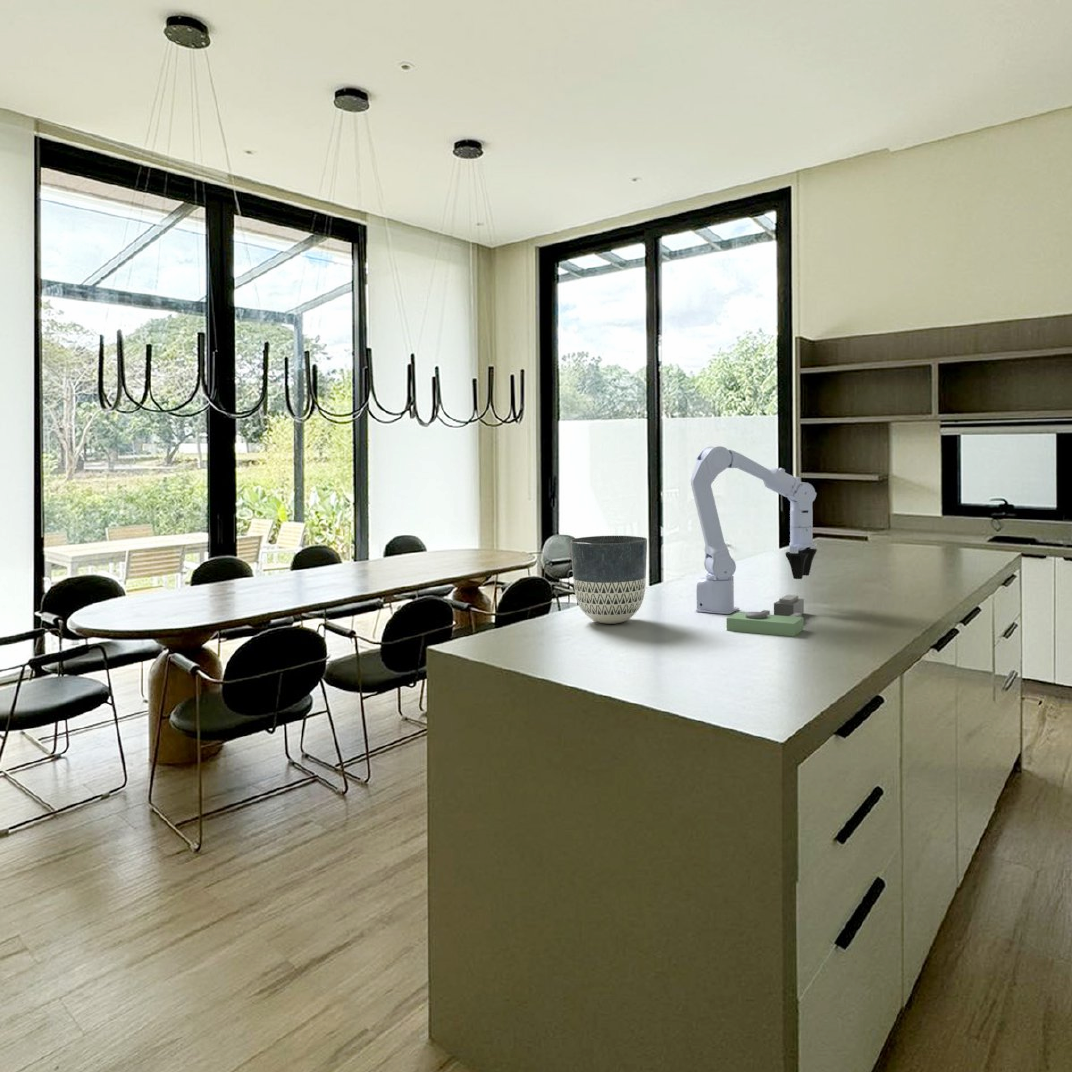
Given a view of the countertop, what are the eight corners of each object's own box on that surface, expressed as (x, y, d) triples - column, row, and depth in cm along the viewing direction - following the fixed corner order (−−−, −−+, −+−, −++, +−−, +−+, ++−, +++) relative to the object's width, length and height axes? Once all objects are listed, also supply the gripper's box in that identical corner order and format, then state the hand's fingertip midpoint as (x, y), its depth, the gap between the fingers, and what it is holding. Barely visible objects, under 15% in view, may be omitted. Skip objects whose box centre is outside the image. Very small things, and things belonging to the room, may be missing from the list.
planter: (572, 615, 223) (569, 536, 221) (644, 613, 222) (643, 534, 220) (573, 631, 204) (570, 544, 201) (652, 629, 203) (650, 542, 201)
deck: (726, 630, 199) (726, 614, 199) (751, 616, 214) (751, 602, 214) (793, 636, 190) (793, 620, 190) (814, 622, 205) (814, 606, 205)
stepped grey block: (773, 618, 212) (773, 599, 211) (784, 612, 219) (784, 593, 219) (793, 620, 209) (793, 600, 209) (803, 614, 216) (803, 595, 216)
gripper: (809, 529, 213) (809, 581, 215) (823, 524, 225) (823, 574, 227) (781, 529, 217) (781, 580, 218) (797, 524, 229) (797, 572, 230)
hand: (801, 577), depth 223 cm, fingers open, 6 cm apart
